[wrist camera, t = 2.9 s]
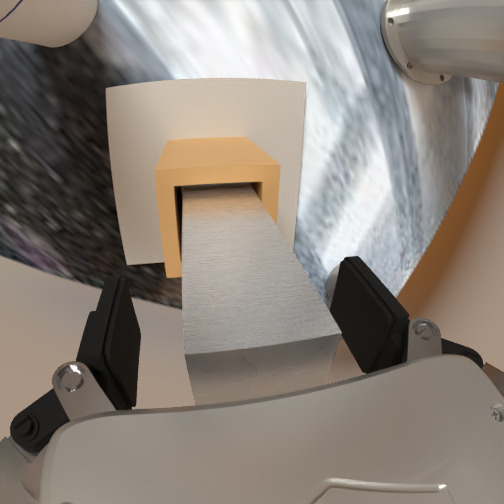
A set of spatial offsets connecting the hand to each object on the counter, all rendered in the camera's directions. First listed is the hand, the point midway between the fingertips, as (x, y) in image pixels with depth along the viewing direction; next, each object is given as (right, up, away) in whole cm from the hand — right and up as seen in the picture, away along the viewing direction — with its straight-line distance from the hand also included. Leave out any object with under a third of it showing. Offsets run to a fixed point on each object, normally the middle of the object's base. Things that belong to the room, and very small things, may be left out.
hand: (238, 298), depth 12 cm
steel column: (-4, +9, +15) cm, 18 cm away
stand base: (-4, +9, +16) cm, 19 cm away
